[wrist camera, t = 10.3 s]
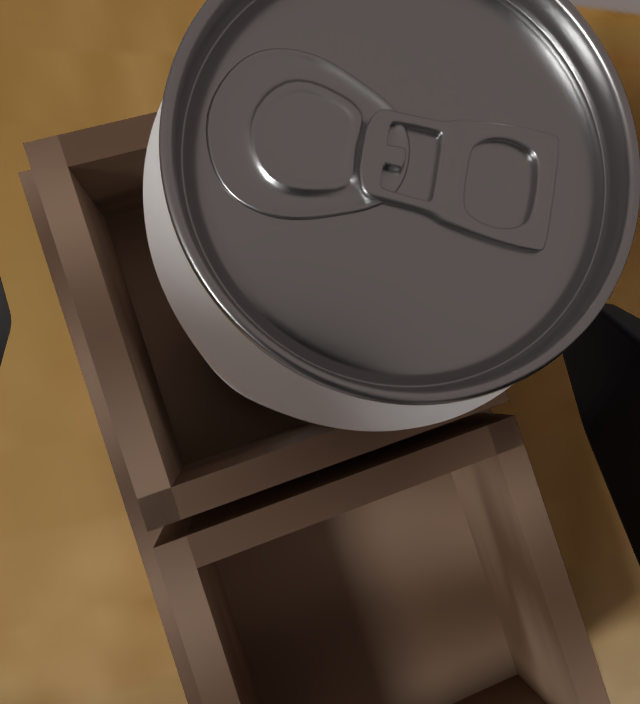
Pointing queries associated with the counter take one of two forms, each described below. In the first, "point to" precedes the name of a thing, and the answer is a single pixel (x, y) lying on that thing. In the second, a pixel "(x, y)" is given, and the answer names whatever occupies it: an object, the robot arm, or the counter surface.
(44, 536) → the counter surface
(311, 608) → the box
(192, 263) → the can
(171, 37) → the counter surface
